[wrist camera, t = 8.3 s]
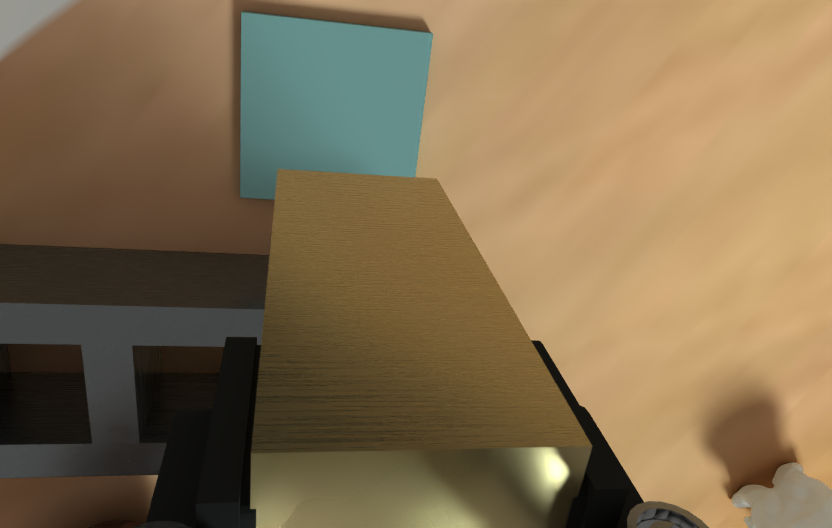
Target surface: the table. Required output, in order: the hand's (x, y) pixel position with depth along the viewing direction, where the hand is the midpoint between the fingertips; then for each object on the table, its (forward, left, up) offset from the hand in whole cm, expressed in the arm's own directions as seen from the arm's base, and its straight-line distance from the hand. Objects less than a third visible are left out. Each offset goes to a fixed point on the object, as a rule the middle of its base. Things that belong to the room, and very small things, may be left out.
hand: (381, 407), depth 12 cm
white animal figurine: (-37, +28, -24) cm, 52 cm away
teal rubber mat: (0, 0, -23) cm, 23 cm away
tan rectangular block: (0, 0, -7) cm, 7 cm away
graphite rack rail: (+6, +13, -23) cm, 27 cm away
